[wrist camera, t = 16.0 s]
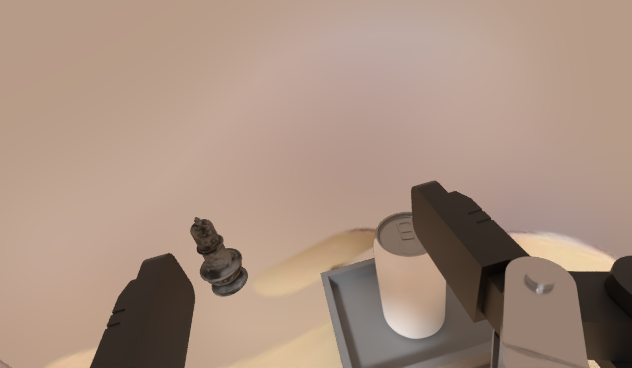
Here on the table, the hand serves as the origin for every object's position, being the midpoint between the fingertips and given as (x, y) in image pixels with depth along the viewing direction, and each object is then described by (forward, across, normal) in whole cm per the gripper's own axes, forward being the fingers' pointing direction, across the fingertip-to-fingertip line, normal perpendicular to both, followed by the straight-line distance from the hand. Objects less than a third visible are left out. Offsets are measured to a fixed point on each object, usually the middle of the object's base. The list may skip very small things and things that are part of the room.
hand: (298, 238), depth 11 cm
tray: (+12, -9, +27) cm, 31 cm away
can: (+12, -9, +26) cm, 30 cm away
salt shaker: (+25, +13, +27) cm, 39 cm away
